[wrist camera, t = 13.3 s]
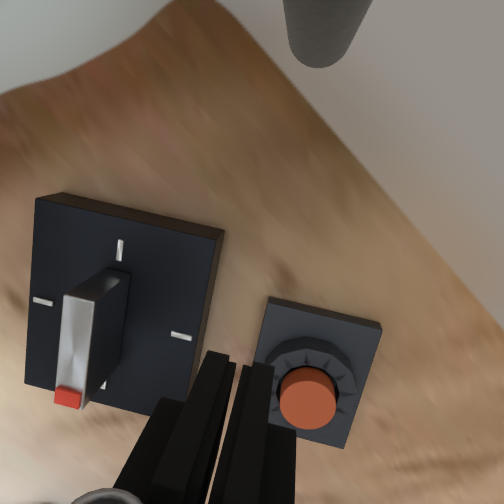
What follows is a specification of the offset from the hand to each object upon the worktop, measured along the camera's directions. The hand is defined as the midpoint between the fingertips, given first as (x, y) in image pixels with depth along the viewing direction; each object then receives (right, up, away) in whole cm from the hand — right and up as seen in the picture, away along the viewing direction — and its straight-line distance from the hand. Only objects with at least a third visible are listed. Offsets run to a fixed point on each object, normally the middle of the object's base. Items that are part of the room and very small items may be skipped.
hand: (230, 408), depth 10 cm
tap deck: (-9, 0, +21) cm, 23 cm away
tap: (-9, -1, +18) cm, 20 cm away
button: (+4, -6, +18) cm, 20 cm away
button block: (+5, -5, +21) cm, 22 cm away
